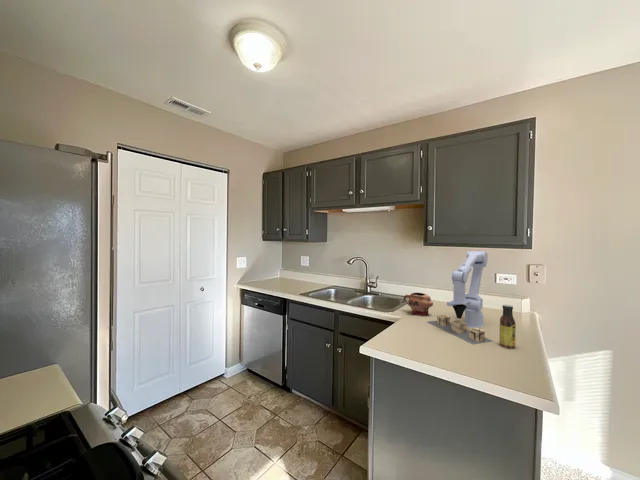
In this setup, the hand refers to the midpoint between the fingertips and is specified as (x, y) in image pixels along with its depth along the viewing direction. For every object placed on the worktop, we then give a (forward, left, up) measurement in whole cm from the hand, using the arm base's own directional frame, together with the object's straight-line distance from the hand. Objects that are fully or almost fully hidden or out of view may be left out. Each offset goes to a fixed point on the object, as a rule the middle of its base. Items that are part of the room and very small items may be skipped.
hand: (459, 318), depth 145 cm
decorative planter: (+1, -34, -8) cm, 35 cm away
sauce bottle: (-7, +22, -8) cm, 24 cm away
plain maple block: (0, 0, -7) cm, 7 cm away
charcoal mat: (0, -1, -8) cm, 8 cm away
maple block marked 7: (0, +12, -7) cm, 14 cm away
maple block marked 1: (0, -11, -7) cm, 14 cm away
